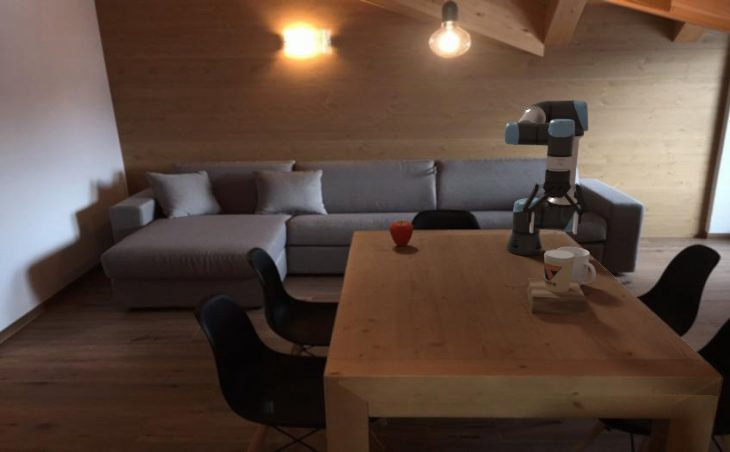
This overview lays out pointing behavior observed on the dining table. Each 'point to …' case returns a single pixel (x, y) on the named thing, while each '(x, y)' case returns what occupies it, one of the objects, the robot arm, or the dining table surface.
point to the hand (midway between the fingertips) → (552, 232)
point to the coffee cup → (558, 270)
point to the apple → (401, 232)
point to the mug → (580, 265)
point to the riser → (555, 299)
